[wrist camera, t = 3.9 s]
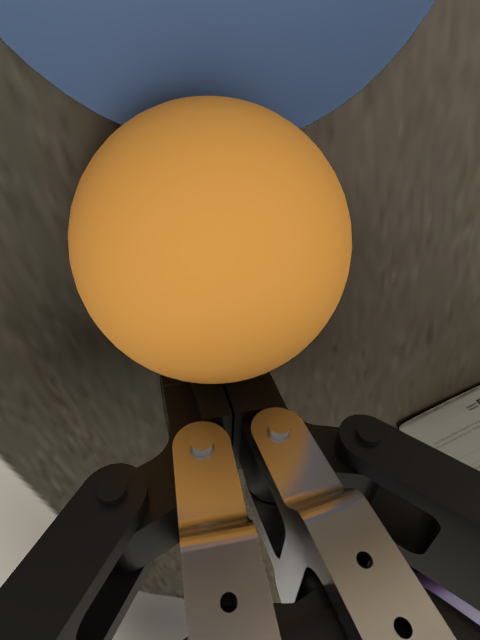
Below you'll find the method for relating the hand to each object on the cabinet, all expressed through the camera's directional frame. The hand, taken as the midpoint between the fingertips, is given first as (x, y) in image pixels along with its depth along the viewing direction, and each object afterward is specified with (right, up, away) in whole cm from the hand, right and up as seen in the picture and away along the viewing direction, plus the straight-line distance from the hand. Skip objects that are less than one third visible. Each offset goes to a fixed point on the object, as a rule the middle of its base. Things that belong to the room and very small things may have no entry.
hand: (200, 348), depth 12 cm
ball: (+1, +2, -4) cm, 4 cm away
